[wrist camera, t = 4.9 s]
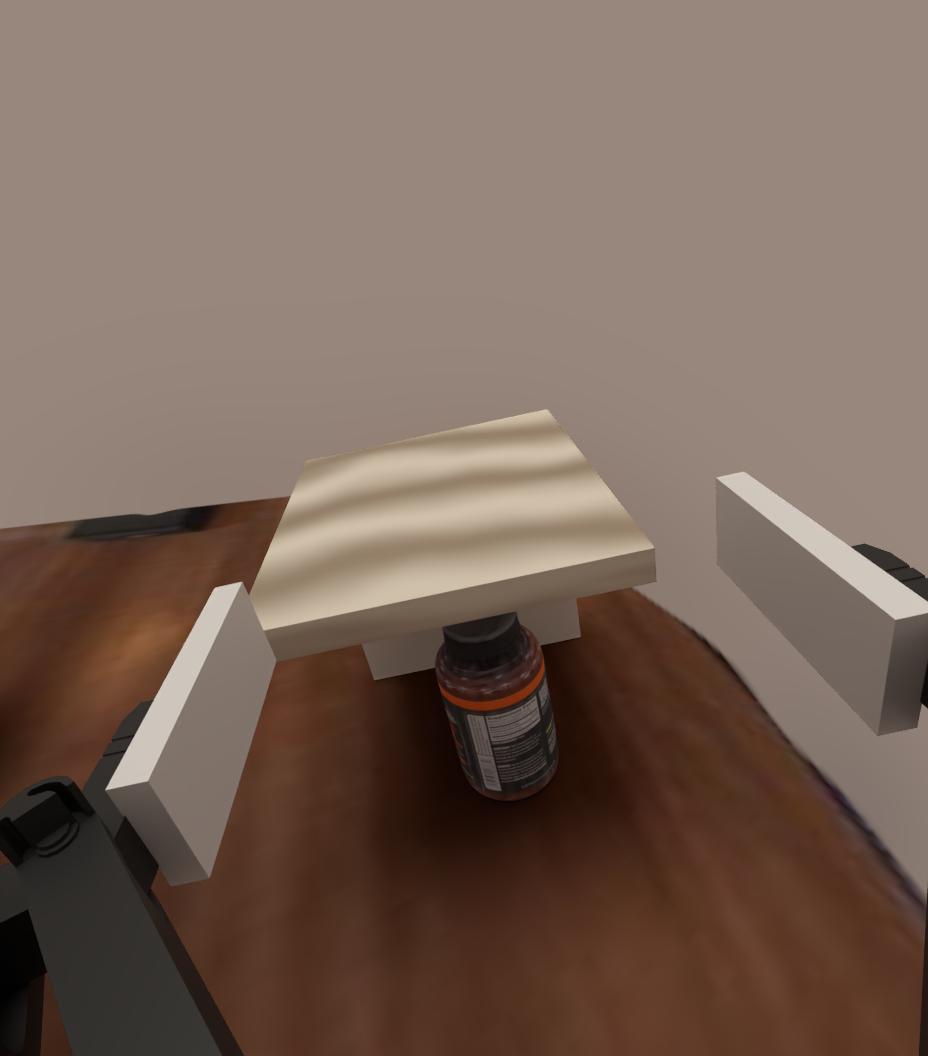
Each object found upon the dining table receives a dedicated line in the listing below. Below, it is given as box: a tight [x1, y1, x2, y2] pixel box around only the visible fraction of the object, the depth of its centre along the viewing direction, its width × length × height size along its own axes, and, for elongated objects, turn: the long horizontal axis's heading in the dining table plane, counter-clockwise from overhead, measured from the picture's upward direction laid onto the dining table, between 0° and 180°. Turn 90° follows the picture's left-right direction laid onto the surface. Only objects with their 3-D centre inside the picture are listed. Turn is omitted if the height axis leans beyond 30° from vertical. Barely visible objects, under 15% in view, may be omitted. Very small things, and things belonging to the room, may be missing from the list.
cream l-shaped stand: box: [249, 410, 656, 680], centre depth 35 cm, size 19×16×18 cm
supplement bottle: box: [435, 611, 559, 801], centre depth 34 cm, size 6×6×11 cm
